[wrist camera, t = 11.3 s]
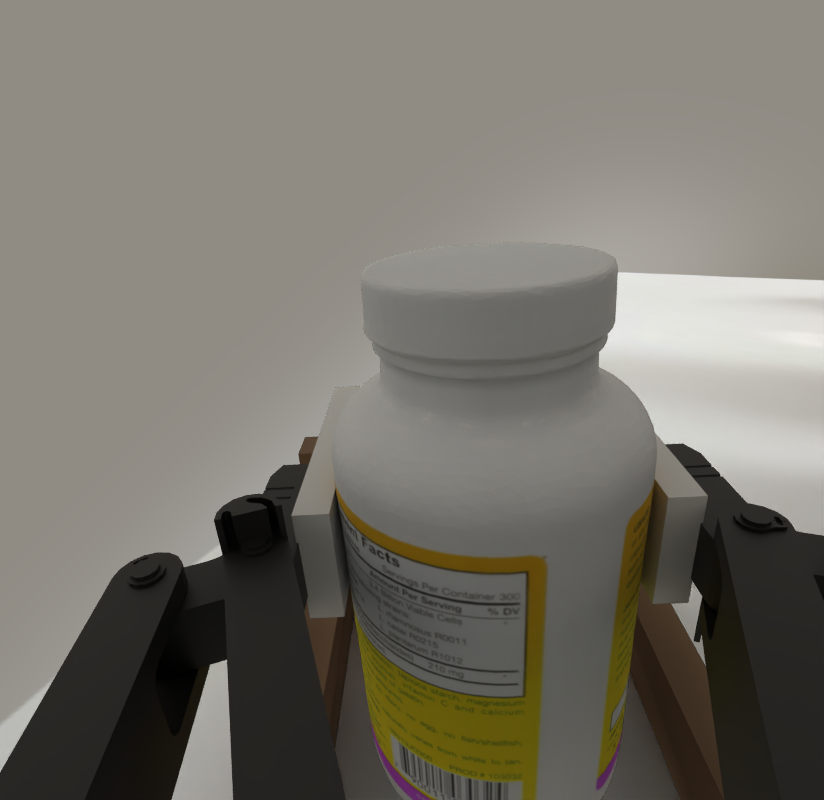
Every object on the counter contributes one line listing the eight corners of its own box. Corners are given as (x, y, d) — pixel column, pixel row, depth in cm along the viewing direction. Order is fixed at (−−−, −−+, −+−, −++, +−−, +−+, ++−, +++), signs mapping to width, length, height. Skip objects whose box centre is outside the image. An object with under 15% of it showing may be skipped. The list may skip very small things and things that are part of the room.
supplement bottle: (533, 607, 19) (547, 225, 14) (674, 794, 14) (789, 265, 8) (346, 670, 17) (283, 255, 12) (419, 918, 12) (359, 335, 6)
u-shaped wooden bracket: (621, 575, 22) (639, 420, 20) (790, 933, 12) (880, 718, 9) (329, 587, 23) (305, 437, 20) (255, 940, 13) (184, 738, 10)
